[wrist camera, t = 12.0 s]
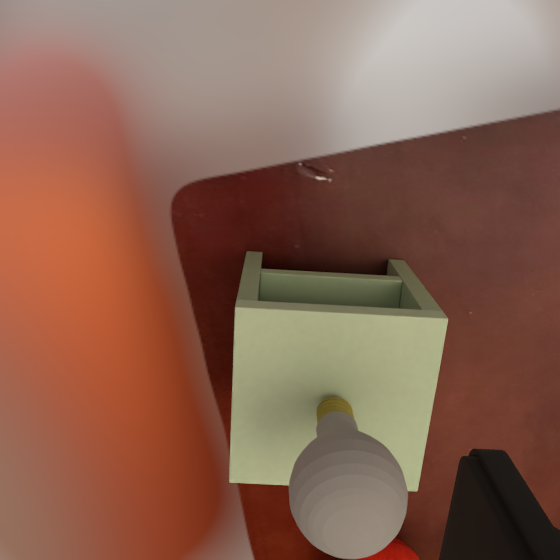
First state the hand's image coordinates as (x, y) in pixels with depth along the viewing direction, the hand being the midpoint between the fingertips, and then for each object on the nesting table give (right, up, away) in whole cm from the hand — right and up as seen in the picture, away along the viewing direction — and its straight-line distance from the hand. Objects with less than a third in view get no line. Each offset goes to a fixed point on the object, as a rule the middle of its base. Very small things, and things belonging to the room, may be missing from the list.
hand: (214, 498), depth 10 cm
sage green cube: (+4, 0, +32) cm, 32 cm away
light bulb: (+4, -3, +22) cm, 22 cm away
